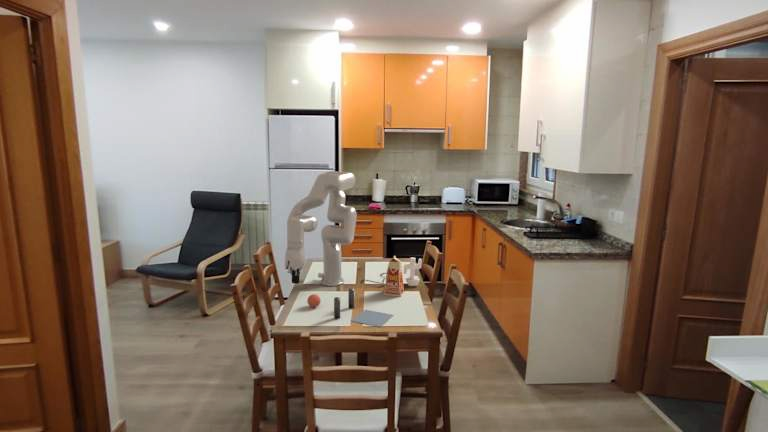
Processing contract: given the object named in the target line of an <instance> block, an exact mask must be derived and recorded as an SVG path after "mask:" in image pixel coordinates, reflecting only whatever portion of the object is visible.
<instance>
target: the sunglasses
mask: <svg viewBox="0 0 768 432" xmlns="http://www.w3.org/2000/svg"><path fill="white" fill-rule="evenodd" d="M384 274H386V275H387V272H383V273H380V274H379V276H380V277H381V276H382V275H384ZM364 281H367V282H371V283H376V284H380V285H382V286H383V287H385V284H384V283H385V281H386V277H384V278H382V280H381V282H379V281H374V280H370V279H362V280H361V281H360V283H362V282H364Z"/></svg>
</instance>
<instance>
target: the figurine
mask: <svg viewBox="0 0 768 432" xmlns="http://www.w3.org/2000/svg"><path fill="white" fill-rule="evenodd" d="M409 261H410V262H409V263H404V265H403V274H404V275H407V274H408V270H409V275H407V276H404V278H405V281H406V283H407V285H408V287H417V286H418V285H419V284H420V282H421V280H420V278H419V276H418V275H416V271H415V270H420V269H422V264H423V263H422V258H418V262H417V263H416V257H410V258H409Z"/></svg>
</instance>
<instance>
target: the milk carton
mask: <svg viewBox="0 0 768 432" xmlns="http://www.w3.org/2000/svg"><path fill="white" fill-rule="evenodd" d="M386 273H387V274H386V279H385V284H384V290H383V296H392V297H402V296H403V294H404V292H405V289H404V278H403V277H404V276H403V268H402V261H401V260H400V259H398V258H397V257H396V255H393V257H392V259H390V260H389V262H388V266H387V269H386Z"/></svg>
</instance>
